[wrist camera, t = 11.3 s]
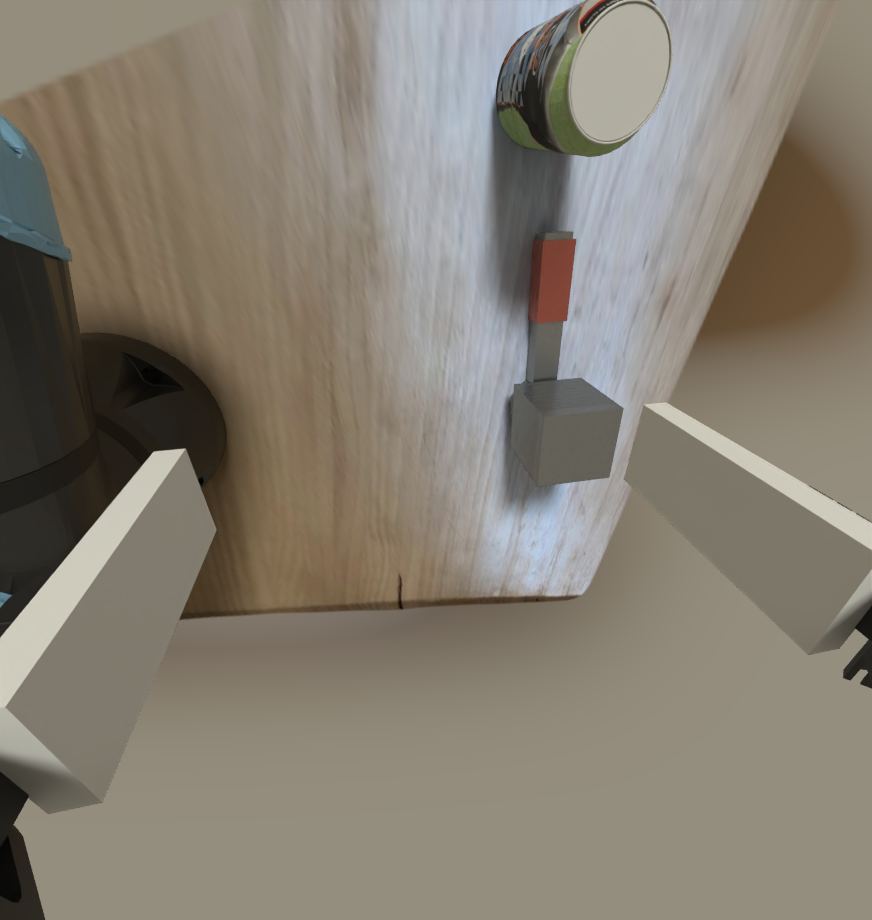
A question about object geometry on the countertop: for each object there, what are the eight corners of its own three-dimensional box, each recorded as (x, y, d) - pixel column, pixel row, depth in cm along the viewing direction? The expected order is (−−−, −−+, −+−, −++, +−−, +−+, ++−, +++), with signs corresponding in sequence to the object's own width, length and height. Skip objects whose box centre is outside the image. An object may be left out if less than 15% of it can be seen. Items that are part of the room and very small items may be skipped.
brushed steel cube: (510, 446, 39) (537, 486, 33) (514, 384, 36) (544, 417, 30) (572, 438, 40) (609, 477, 34) (581, 377, 37) (623, 408, 31)
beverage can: (578, 27, 26) (714, -93, 16) (575, 165, 30) (683, 138, 20) (484, 43, 26) (562, -71, 16) (493, 180, 30) (561, 160, 20)
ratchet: (507, 429, 41) (527, 457, 36) (518, 233, 32) (546, 236, 27) (557, 423, 41) (583, 451, 36) (581, 230, 33) (619, 231, 28)
